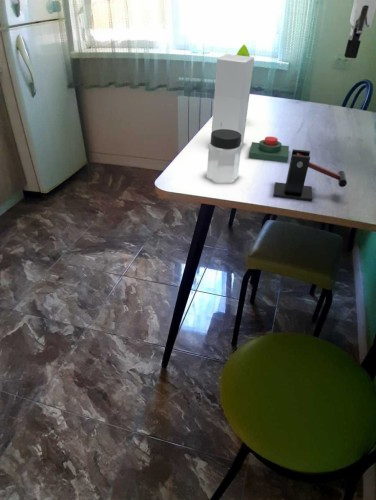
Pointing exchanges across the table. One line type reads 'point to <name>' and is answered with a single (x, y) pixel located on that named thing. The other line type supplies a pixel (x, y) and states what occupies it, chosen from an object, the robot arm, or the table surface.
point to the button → (270, 141)
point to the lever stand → (295, 179)
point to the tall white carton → (232, 93)
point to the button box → (269, 152)
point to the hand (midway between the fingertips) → (350, 57)
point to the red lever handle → (329, 173)
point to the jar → (224, 156)
